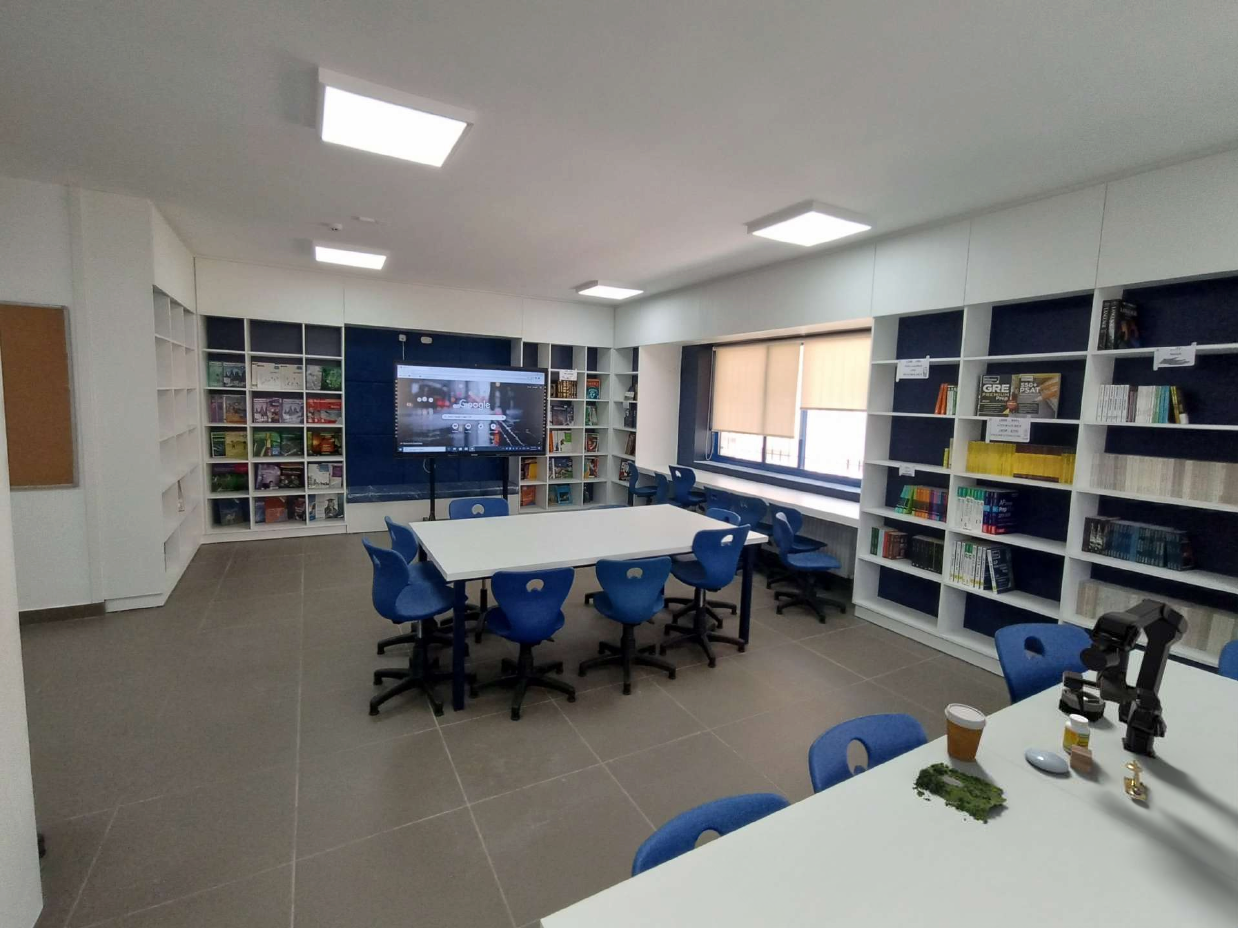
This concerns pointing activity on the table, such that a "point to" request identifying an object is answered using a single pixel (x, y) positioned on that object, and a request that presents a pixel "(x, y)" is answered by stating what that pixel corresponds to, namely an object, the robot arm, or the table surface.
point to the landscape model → (959, 790)
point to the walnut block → (1081, 758)
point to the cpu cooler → (1091, 705)
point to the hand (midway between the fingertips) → (1104, 720)
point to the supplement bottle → (1076, 732)
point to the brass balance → (1134, 782)
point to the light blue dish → (1046, 760)
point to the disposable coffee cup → (964, 731)
